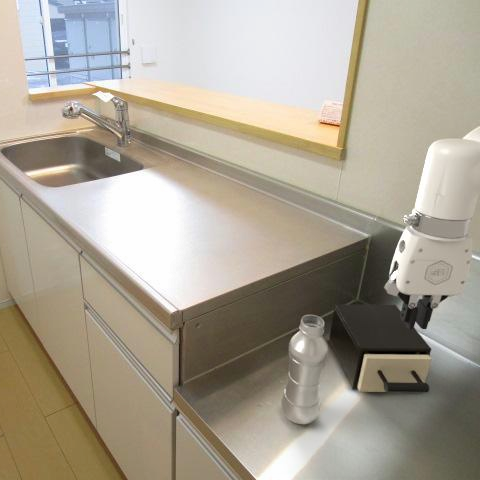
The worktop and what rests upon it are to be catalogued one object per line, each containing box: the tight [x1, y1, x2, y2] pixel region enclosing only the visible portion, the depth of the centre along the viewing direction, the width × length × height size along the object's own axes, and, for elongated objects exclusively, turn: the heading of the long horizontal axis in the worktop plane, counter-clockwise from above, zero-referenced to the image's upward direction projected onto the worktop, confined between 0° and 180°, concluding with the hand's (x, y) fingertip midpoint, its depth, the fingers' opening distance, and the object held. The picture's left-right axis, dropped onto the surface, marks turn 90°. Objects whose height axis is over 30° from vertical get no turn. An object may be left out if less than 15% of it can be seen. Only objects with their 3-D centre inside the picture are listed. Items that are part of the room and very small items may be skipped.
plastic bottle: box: [281, 314, 330, 425], centre depth 76 cm, size 6×7×20 cm
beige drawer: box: [357, 352, 432, 393], centre depth 86 cm, size 18×11×8 cm, turn 178°
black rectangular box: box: [328, 304, 432, 390], centre depth 90 cm, size 15×13×10 cm
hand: (413, 323), depth 75 cm, fingers closed
